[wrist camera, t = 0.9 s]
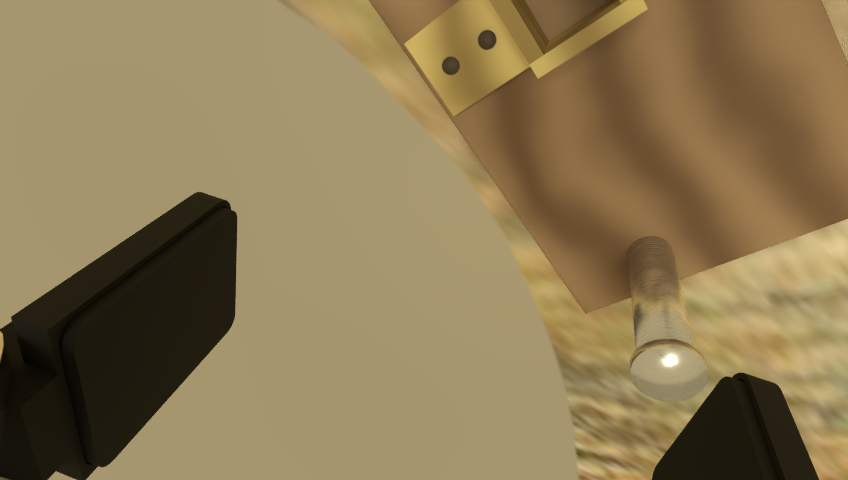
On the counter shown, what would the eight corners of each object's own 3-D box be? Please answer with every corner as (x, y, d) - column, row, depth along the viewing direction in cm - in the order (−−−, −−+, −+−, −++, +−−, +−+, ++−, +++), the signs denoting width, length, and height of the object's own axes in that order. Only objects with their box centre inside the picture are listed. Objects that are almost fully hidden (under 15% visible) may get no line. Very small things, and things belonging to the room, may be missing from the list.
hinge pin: (664, 222, 39) (688, 339, 28) (688, 264, 40) (720, 390, 30) (612, 244, 41) (617, 361, 30) (637, 283, 42) (650, 408, 32)
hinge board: (692, -290, 26) (711, -328, 22) (895, 189, 35) (937, 229, 31) (372, -7, 37) (342, 4, 33) (585, 304, 46) (584, 345, 42)
